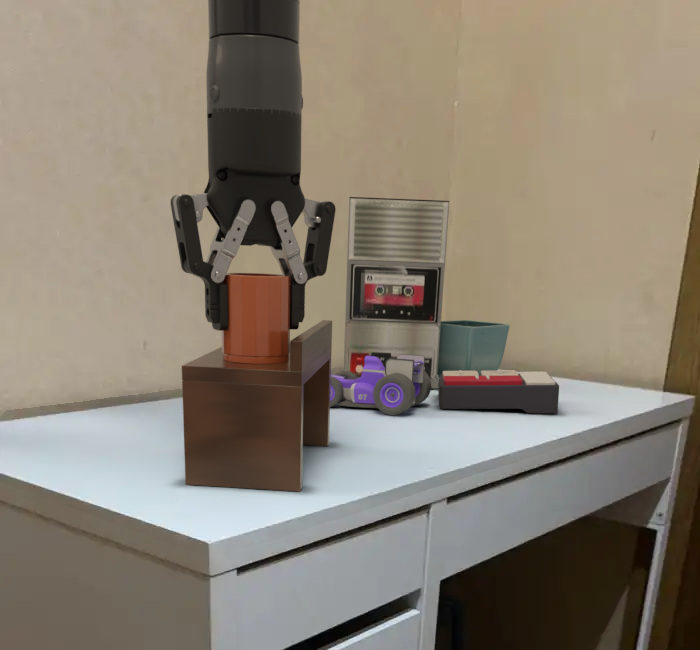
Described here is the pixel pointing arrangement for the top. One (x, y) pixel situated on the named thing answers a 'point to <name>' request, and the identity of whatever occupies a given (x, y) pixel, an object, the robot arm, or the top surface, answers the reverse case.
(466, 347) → the flower pot
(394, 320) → the cassette tape recorder
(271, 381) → the brown wooden bench
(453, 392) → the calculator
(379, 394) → the toy race car
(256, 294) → the pot
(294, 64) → the robot arm
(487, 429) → the top surface
